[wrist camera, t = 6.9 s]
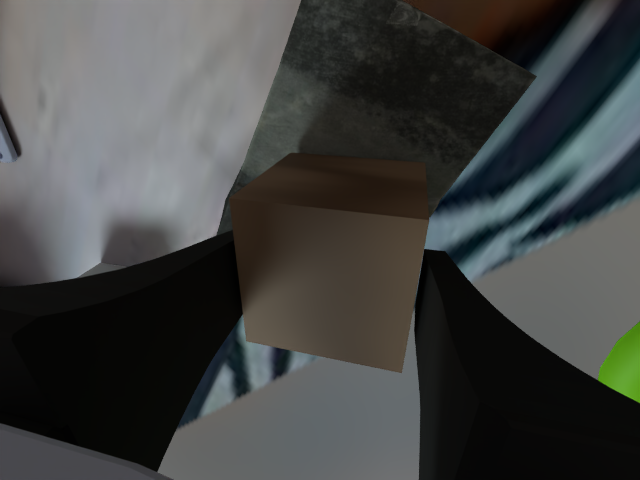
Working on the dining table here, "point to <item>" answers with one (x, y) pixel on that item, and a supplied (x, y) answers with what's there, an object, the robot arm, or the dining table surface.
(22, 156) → the dining table surface
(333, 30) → the stone block
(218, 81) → the dining table surface
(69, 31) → the dining table surface
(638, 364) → the wineglass
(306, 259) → the walnut cube
